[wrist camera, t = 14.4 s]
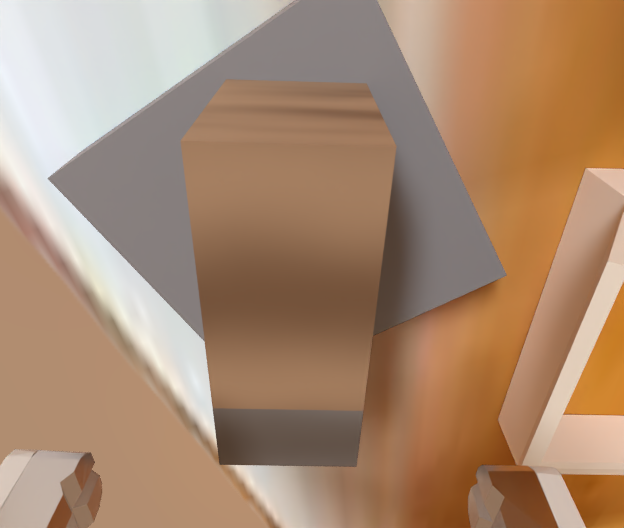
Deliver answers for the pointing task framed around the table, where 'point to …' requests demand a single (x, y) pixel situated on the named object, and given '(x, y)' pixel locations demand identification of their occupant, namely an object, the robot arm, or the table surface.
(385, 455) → the table surface
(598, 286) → the carton
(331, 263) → the walnut block
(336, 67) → the slate platform
